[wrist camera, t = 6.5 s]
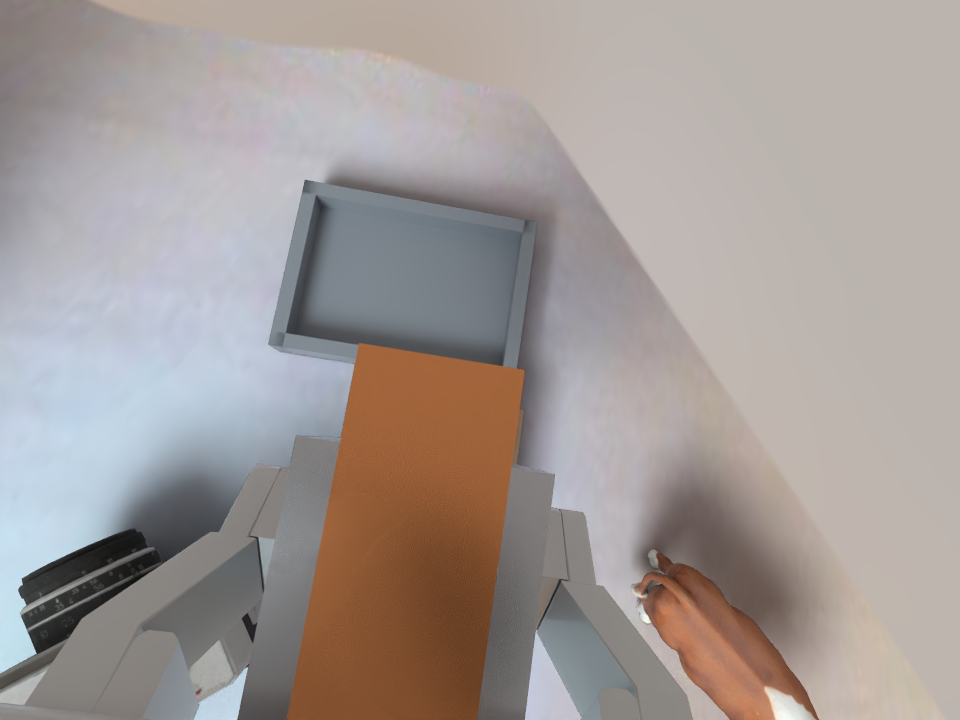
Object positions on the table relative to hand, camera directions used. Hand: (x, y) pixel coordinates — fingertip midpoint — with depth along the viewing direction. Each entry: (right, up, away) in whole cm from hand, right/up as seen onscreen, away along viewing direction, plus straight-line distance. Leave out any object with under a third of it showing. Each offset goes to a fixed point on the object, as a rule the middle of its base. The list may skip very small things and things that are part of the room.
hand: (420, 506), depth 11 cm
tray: (-3, +7, +22) cm, 23 cm away
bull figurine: (+14, -14, +20) cm, 28 cm away
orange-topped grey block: (-1, -2, +7) cm, 8 cm away
